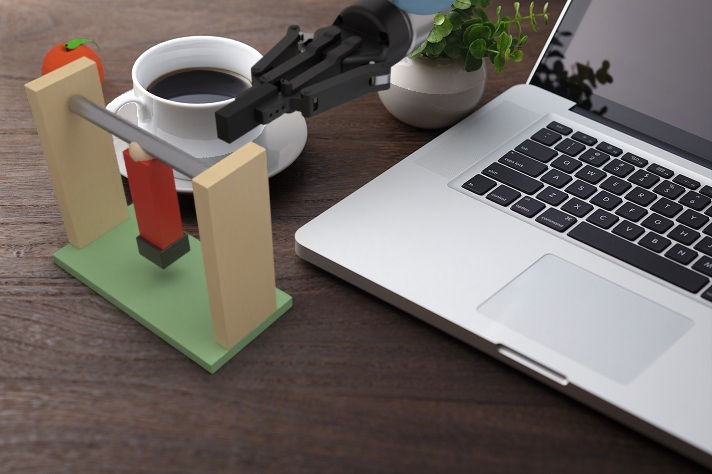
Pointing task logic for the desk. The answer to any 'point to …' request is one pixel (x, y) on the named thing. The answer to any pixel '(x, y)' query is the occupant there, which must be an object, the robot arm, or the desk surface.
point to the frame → (119, 231)
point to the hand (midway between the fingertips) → (222, 128)
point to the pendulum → (148, 181)
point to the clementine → (70, 56)
